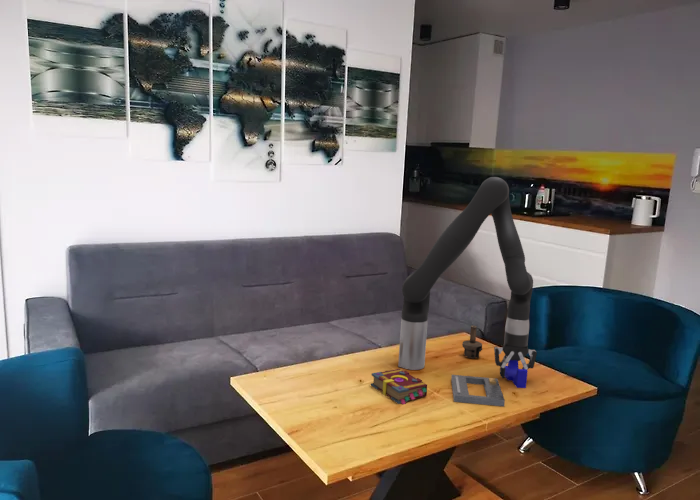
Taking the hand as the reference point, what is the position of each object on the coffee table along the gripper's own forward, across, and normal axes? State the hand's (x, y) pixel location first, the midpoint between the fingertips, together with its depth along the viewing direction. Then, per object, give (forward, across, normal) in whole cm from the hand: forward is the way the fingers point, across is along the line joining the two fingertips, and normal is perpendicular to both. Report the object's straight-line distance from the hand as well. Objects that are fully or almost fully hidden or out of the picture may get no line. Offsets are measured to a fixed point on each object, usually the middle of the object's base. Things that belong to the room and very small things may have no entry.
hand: (512, 378), depth 187 cm
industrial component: (+1, -13, +21) cm, 25 cm away
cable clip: (+1, 0, 0) cm, 1 cm away
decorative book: (+1, -38, -18) cm, 42 cm away
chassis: (+1, -13, -13) cm, 19 cm away
